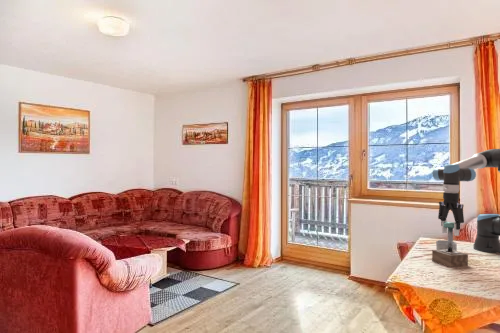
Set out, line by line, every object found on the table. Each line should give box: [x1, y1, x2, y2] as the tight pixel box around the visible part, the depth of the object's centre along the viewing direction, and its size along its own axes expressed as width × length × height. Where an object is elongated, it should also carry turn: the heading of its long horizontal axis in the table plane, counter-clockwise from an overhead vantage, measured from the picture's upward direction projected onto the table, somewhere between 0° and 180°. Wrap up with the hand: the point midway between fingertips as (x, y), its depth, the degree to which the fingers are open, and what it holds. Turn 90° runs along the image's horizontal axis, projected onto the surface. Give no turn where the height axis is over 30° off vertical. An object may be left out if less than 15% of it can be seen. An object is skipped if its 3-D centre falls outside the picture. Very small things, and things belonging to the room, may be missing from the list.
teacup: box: [435, 239, 458, 251], centre depth 205 cm, size 14×11×8 cm
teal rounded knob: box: [443, 221, 456, 251], centre depth 187 cm, size 7×7×15 cm
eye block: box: [431, 249, 469, 268], centre depth 187 cm, size 12×12×6 cm
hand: (450, 233), depth 187 cm, fingers closed on teal rounded knob, 7 cm apart
